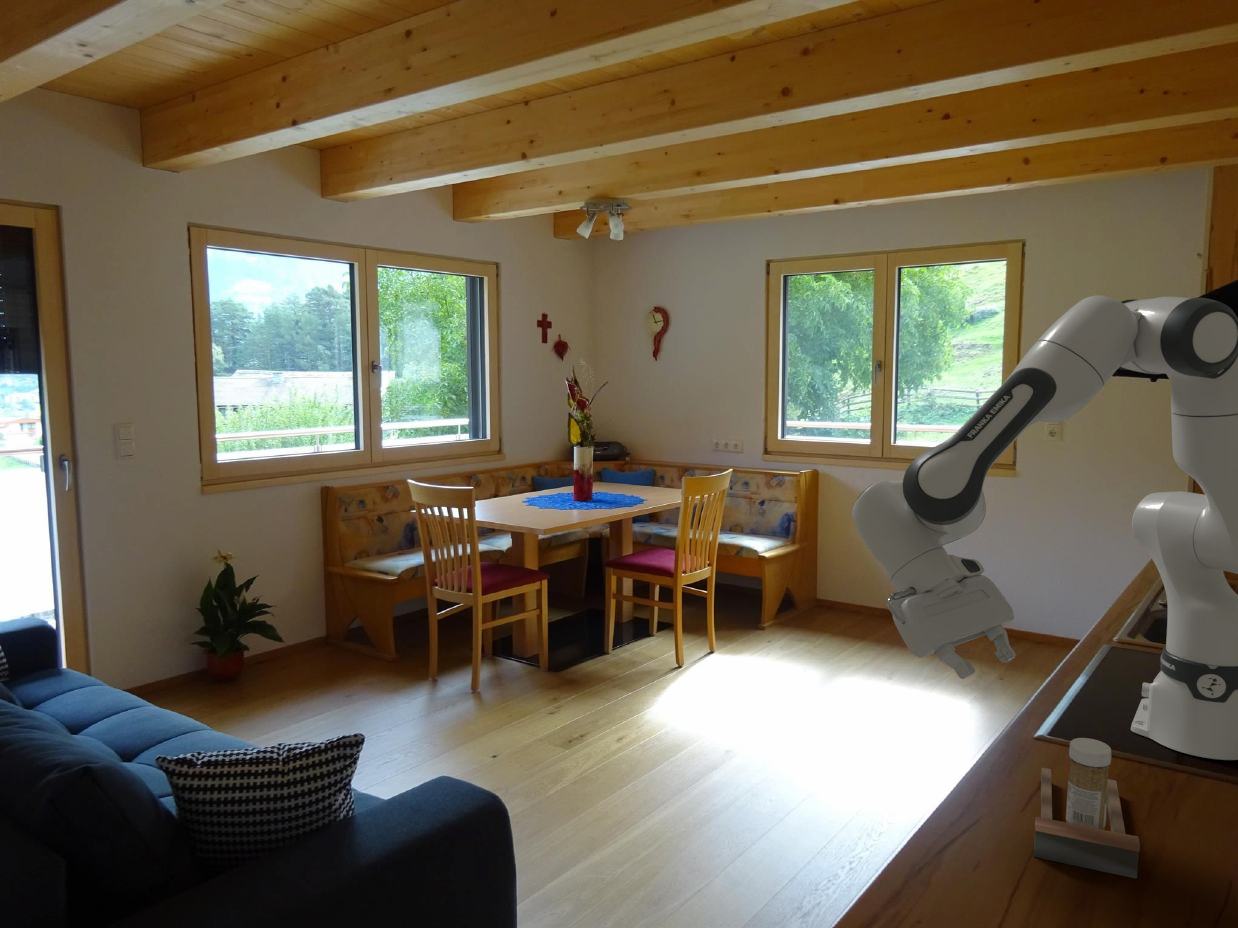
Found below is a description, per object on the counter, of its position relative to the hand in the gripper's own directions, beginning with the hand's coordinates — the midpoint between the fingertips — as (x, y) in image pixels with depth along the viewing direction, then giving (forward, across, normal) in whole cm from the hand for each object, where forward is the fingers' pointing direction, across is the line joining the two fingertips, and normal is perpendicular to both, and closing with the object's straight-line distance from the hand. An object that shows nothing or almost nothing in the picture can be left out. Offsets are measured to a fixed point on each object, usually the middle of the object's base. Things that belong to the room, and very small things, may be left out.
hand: (989, 667), depth 123 cm
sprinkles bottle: (+24, -1, +3) cm, 24 cm away
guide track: (+21, +4, +5) cm, 22 cm away
